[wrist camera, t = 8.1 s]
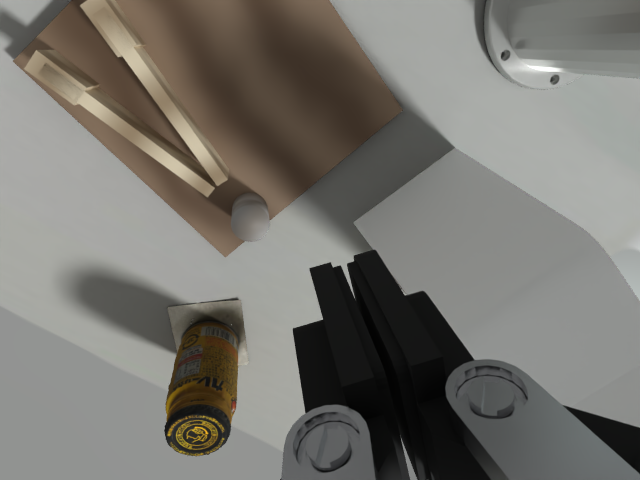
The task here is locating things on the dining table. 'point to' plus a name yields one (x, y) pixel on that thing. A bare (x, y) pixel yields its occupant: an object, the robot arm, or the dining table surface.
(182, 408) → the condiment
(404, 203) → the milk
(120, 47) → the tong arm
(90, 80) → the beige long slender part
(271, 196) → the board
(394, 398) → the robot arm
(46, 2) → the dining table surface
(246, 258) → the dining table surface
